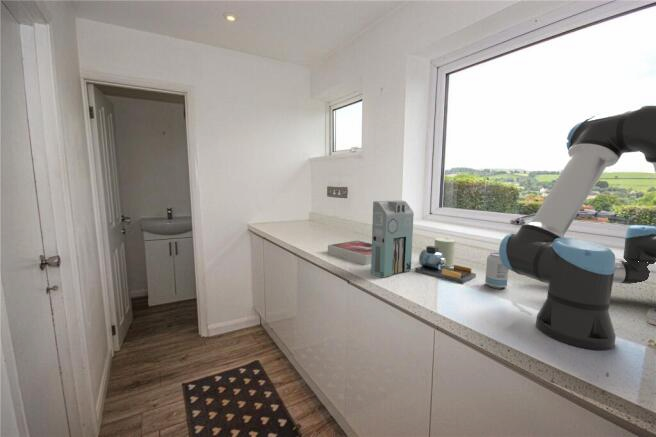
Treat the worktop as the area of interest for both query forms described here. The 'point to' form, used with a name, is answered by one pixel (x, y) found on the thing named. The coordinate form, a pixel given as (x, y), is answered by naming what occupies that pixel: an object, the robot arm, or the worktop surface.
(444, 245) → the can
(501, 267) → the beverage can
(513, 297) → the worktop surface
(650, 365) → the worktop surface
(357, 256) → the product packaging
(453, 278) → the motor
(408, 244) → the device
